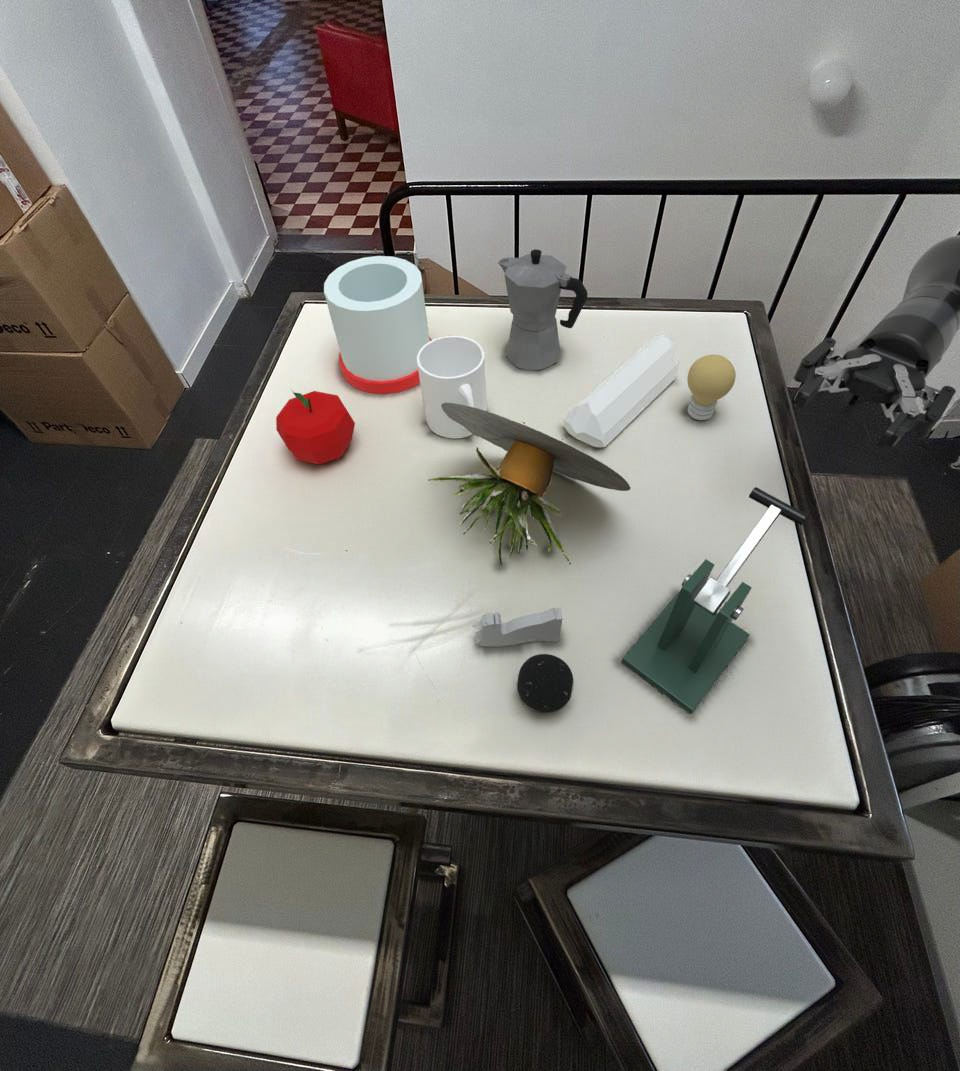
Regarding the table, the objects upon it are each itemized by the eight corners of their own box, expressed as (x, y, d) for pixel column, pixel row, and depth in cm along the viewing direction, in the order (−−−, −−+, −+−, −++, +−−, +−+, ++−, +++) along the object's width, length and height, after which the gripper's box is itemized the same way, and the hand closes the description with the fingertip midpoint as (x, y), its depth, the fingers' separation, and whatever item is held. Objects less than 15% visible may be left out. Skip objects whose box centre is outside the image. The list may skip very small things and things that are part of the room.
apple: (373, 443, 92) (359, 391, 84) (319, 485, 87) (299, 434, 79) (326, 414, 96) (309, 361, 88) (273, 452, 92) (250, 401, 84)
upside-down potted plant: (435, 509, 93) (354, 513, 69) (485, 403, 90) (419, 368, 66) (581, 590, 87) (548, 624, 63) (641, 479, 84) (629, 471, 60)
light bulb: (689, 432, 90) (706, 378, 82) (670, 405, 94) (685, 350, 86) (729, 423, 91) (749, 369, 83) (708, 396, 95) (726, 341, 87)
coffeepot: (484, 356, 103) (480, 253, 89) (515, 327, 108) (515, 225, 93) (564, 388, 98) (573, 283, 83) (592, 356, 102) (606, 252, 87)
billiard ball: (522, 664, 70) (522, 640, 65) (574, 674, 69) (579, 650, 64) (512, 714, 66) (512, 693, 61) (567, 725, 65) (571, 705, 60)
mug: (461, 390, 98) (456, 327, 89) (510, 429, 92) (510, 366, 83) (414, 417, 95) (403, 355, 86) (461, 459, 89) (455, 397, 80)
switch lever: (754, 490, 62) (756, 483, 60) (806, 518, 60) (809, 512, 58) (680, 594, 63) (678, 590, 60) (728, 626, 60) (728, 623, 58)
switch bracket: (679, 594, 74) (708, 525, 63) (747, 639, 70) (790, 573, 59) (620, 662, 69) (641, 600, 58) (690, 714, 65) (726, 658, 54)
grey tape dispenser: (558, 642, 71) (473, 649, 71) (557, 631, 72) (472, 638, 72) (562, 618, 67) (471, 625, 66) (560, 607, 67) (470, 614, 67)
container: (455, 354, 104) (447, 273, 92) (392, 407, 97) (375, 326, 85) (385, 323, 110) (370, 243, 98) (321, 370, 103) (297, 291, 91)
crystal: (609, 445, 84) (698, 358, 94) (574, 406, 84) (667, 323, 94) (583, 465, 91) (668, 382, 101) (550, 429, 91) (639, 349, 101)
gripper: (857, 291, 69) (788, 362, 62) (995, 342, 63) (935, 426, 56) (829, 347, 75) (764, 417, 68) (953, 398, 69) (894, 480, 62)
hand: (841, 421), depth 62 cm, fingers open, 8 cm apart
